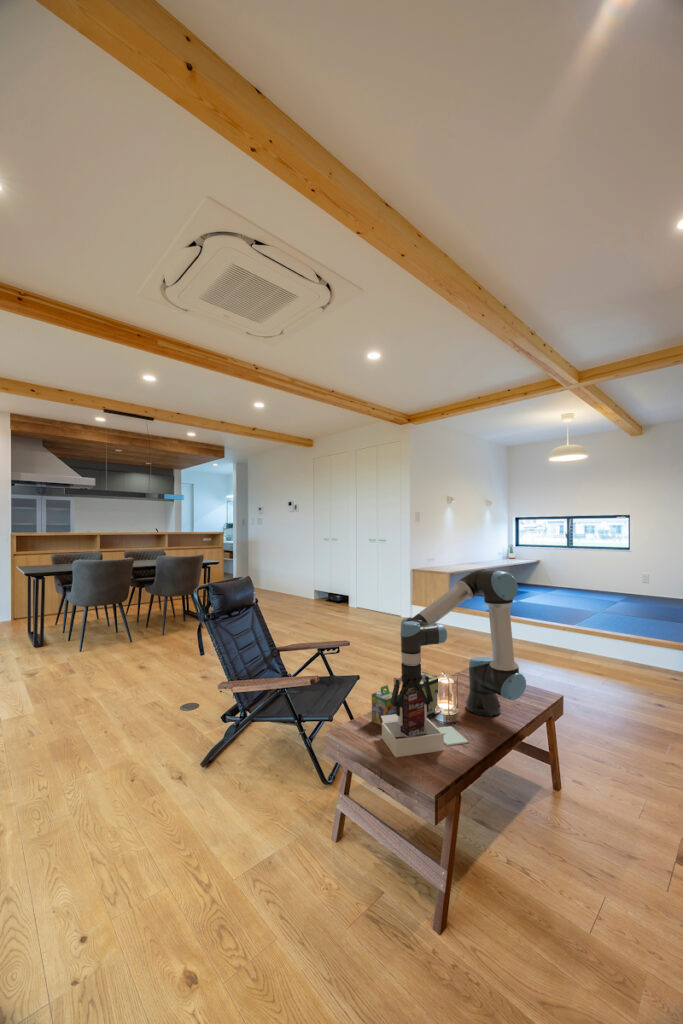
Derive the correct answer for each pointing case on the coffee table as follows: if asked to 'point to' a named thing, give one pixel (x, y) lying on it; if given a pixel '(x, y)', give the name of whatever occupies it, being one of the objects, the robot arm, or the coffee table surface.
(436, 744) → the carton
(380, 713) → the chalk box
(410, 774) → the coffee table surface
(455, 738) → the felt pad
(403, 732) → the supplement box
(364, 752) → the coffee table surface
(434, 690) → the protein box
